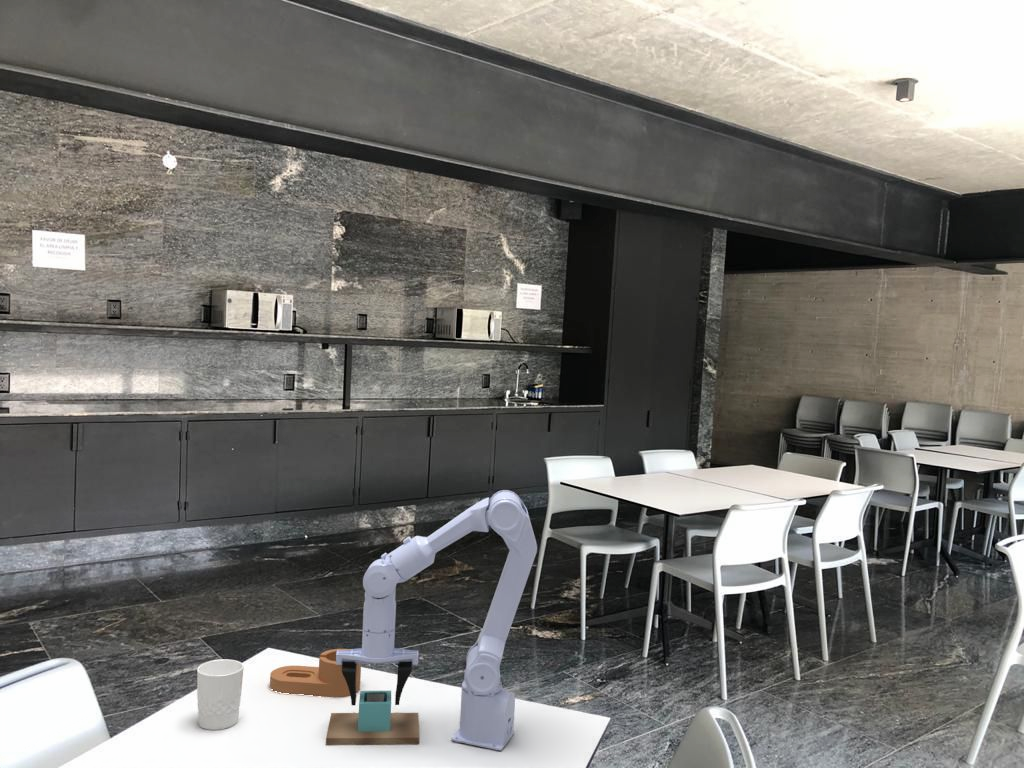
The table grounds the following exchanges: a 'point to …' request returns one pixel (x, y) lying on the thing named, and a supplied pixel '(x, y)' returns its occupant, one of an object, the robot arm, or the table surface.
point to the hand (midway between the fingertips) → (375, 703)
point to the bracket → (314, 678)
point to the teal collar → (374, 713)
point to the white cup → (219, 693)
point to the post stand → (346, 732)
